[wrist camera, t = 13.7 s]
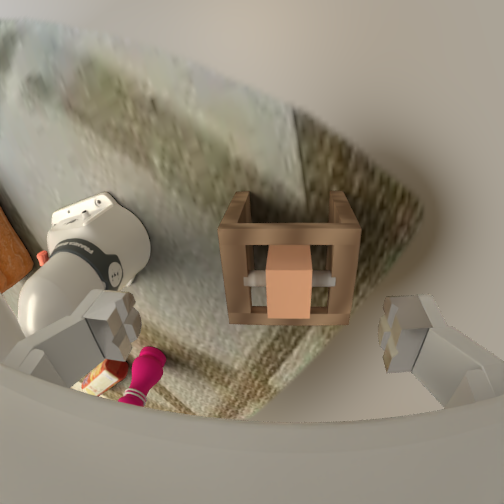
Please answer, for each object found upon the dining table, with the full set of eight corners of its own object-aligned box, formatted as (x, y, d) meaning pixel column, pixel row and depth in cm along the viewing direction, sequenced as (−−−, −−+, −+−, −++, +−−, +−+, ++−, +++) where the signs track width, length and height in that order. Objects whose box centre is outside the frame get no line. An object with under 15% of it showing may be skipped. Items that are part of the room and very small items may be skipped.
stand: (242, 270, 53) (229, 325, 41) (236, 191, 46) (216, 230, 34) (337, 270, 51) (348, 326, 39) (342, 191, 44) (361, 229, 33)
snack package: (103, 386, 80) (94, 402, 74) (85, 373, 78) (76, 389, 72) (132, 363, 71) (123, 383, 65) (112, 348, 69) (101, 367, 63)
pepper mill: (172, 365, 68) (146, 435, 51) (147, 365, 70) (118, 430, 53) (161, 344, 65) (130, 416, 48) (134, 344, 67) (101, 411, 49)
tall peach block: (271, 280, 44) (267, 318, 37) (270, 236, 40) (265, 270, 33) (307, 280, 43) (309, 318, 36) (308, 236, 40) (312, 270, 33)
